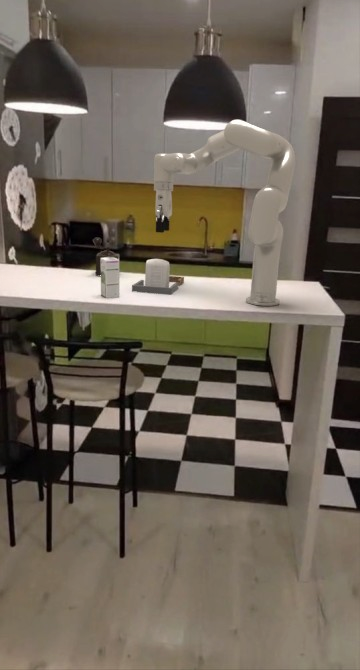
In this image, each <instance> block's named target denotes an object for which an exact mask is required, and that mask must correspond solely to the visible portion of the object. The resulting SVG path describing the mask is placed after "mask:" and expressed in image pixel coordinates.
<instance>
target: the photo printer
mask: <svg viewBox="0 0 360 670" xmlns="http://www.w3.org/2000/svg"><path fill="white" fill-rule="evenodd" d="M170 271H171V267H170V262H169V261H168V260H165V259H162V258H151V259H147V260H146V262H145V278H144V286H153V287H166V288H169V287H170V282H169V276H170Z"/></svg>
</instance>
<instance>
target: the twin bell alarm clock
mask: <svg viewBox="0 0 360 670" xmlns="http://www.w3.org/2000/svg"><path fill="white" fill-rule="evenodd" d="M102 241H103V240H102V238H100V237H97V236H96V237H95V238H93V239H92V242H93V244H94V248H95V249H97V250H98V249H100V252H98V253H97V254H96V256H95V273H94V274H95V276H96V275H101V261H100V259H101V258H105V257H113V258H116V259H119V260H120V254H119V253H115V252H114V251H111V250H110V239H109V238H108V239H106V246H104V247H102V246H101V243H102ZM102 250H103V251H102Z"/></svg>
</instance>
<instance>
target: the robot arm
mask: <svg viewBox="0 0 360 670" xmlns="http://www.w3.org/2000/svg"><path fill="white" fill-rule="evenodd" d="M240 150H243V151H245V152H247V153H249V154H252V155H254V156H257V157H260V158H262V159H263V158H264V159H268V160H270V166H269V167H270V168H269V170H268V174H267V180H266V184H265V186H264V187H262V188H261V189H259V190H258V191H257V193H256V194H255V197H254V198H253V199H254V200H253V203H252V209H251V214H250V219H249V224H248V231H247V234H248V238H249V240H250V241H251V242H252V243H253V244H254V245H255V246H254V249H253V259H252V272H251V281H250V282H251V283H250V284H251V285H250V295H249V296H247V297H246V298H245V302H246V303H248V304H251V305H254V306H263V307H272V306H273V307H274V306H278V305H280V300H279V299H278V298H277V288H278V287H277V285H278V277H279V265H280V258H281V257H280V256H281V248H282V243H283V240H284V239H283V238H284V227H283V224H282V223H281V221H280V220H279V219H278V218H279V215H280V213H282V212H283V211H284V210H286V207H287V204H288V200H289V195H290V191H291V186H292V181H293V175H294V171H295V166H296V153H295V150H294V148H293V146H292V144H291V143H290V142H289V141H288V140H287V139H286V138H284V137H283V136H281V135H280V134H278V133H274V132H272V131H269V130H267V129H264V128H261V127H258V126H256V125H254V124H251V123H249V122H247V121H245V120H243V119H238V118H237V119H233V120H231V121H229V122H228V123H227V124H226V125H225V127H224V129H223V130H222V131H219V132H218V133H215V134H213V135H211V136H209V137H208V139H207V141H206V144H205V145H204V146H203V147H200V148H199V149H198V150H195V151H193V152H191V153H184V152H173V153H156V154H155V156H154V158H153V159H154V164H153V166H154V169H153V172H154V173H153V179H154V180H153V191H155V192H156V193H155V205H154V206H155V208H154V209H155V218H156V219H155V232H156V233H164V232H165V231H166V232H169V231H170V217H172V215H173V198H172V197H173V196H172V192H174V174H178V175H193V174H195V173H197V172H200V171H201V170H204V169H207V168H208V167H210V166H211V165H213V164H215V163H216V162H217V161H219V160H221V159H223V158H225V157H227V156H229V155H232V154H234V153H236V152H238V151H240Z"/></svg>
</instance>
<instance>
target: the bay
mask: <svg viewBox="0 0 360 670" xmlns="http://www.w3.org/2000/svg"><path fill="white" fill-rule="evenodd" d="M178 289H179V286H178V282H174V283H173V284H172V285H171V286H169V288H166V287H153V286H145V279H140V280H138V281H137V282H135V283H134V284H132V285H131V291H132V292H133V291H137V292H136V293H145V292H147V293H148V294H157V293H158V295H159V294H160V295H172V294H173V293H175V292H176V291H177V290H178ZM147 293H146V294H147Z"/></svg>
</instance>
